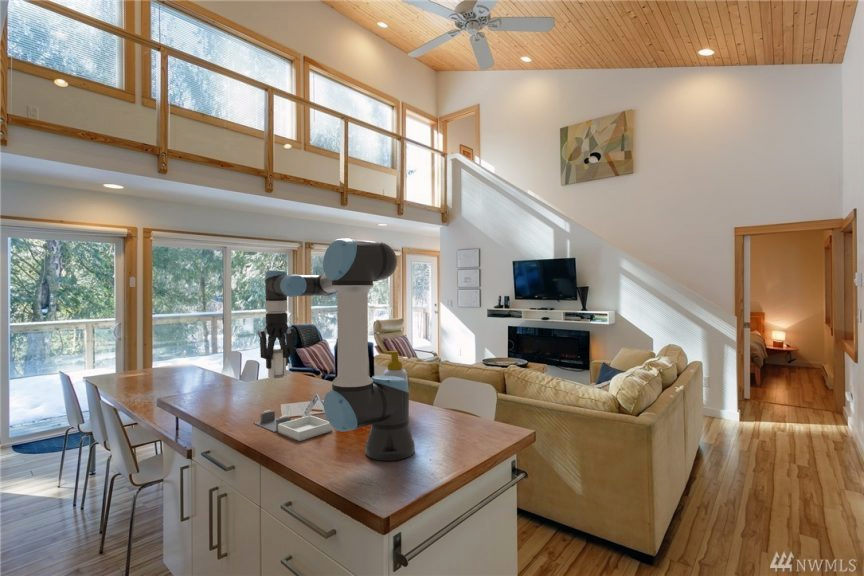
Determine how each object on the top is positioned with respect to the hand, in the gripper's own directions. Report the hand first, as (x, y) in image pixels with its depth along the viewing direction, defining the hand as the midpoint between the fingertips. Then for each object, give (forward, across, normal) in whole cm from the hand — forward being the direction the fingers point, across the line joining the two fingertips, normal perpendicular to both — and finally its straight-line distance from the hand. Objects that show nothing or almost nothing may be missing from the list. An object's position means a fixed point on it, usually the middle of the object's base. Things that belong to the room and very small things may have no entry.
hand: (277, 376), depth 157 cm
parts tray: (+18, -3, +13) cm, 23 cm away
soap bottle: (+19, -37, +24) cm, 48 cm away
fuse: (0, 0, 0) cm, 0 cm away
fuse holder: (+18, 0, -1) cm, 18 cm away
